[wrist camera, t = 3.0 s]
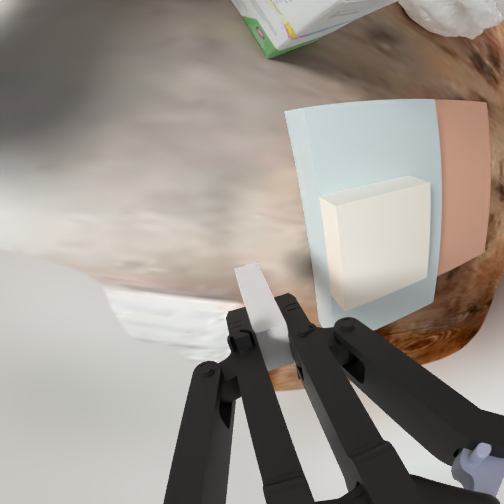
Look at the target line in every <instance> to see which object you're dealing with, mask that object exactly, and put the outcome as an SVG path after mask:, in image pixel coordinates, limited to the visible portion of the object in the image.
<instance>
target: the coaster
mask: <svg viewBox="0 0 504 504" xmlns="http://www.w3.org/2000/svg"><path fill="white" fill-rule="evenodd" d="M319 199H320V206H321V213H322V220H323V227H324V235H325V243H326V251H327V260H328V270H329V279H330V290H331V295H332V296H333V298H334V299H335V300H336V301H337V303H338V304H339V305H340V306H341V308H342V309H343V310H344V311H348V310H350V309H353V308H356V307H358V306H361V305H363V304H366V303H368V302H371V301H373V300H376V299H378V298H381V297H383V296H385V295H388V294H390V293H393V292H395V291H397V290H400V289H402V288H404V287H407V286H409V285H411V284H413V283H416V282H418V281H420V280H422V279H424V278H427V269H428V258H429V243H430V216H431V192H430V182H428V181H425V180H422V179H419V178H416V177H412V176H404V177H400V178H395V179H391V180H386V181H382V182H378V183H373V184H369V185H365V186H360V187H356V188H352V189H348V190H344V191H340V192H336V193H331V194H327V195H323V196H319Z"/></svg>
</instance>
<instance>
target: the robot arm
mask: <svg viewBox="0 0 504 504" xmlns="http://www.w3.org/2000/svg"><path fill="white" fill-rule="evenodd" d="M234 270H235V274H236V277H237V281H238V284H239V288H240V291H241V294H242V298H243V301H244V305H245V307H243V308H240V309H236V310H233V311H229V312H228V314H227V317H226V320H227V325H228V330H229V336H228V339H227V342H228V344H229V347H230V349H231V354H230V355H229V356H228V357H227V358H226V359H225V360H223V361H222V362H220V363H216V362H214V361H206V362H203V363H201V364H199V365H198V366H197V367H196V368H195V370H194V372H193V375H192V379H191V384H190V387H189V392H188V396H187V400H186V404H185V408H184V413H183V417H182V421H181V425H180V430H179V434H178V439H177V443H176V447H175V452H174V456H173V461H172V466H171V470H170V475H169V480H168V484H167V489H166V494H165V499H164V504H225V503H226V494H227V484H228V474H229V464H230V454H231V443H232V433H233V424H234V414H235V403H236V401H235V400H236V399H238V398H240V397H241V396H242V400H243V405H244V409H245V413H246V418H247V422H248V426H249V430H250V434H251V438H252V442H253V446H254V450H255V454H256V457H257V462H258V465H259V469H260V473H261V476H262V481H263V491H264V496H265V500H266V503H267V504H500V502H499V501H498V499H497V498H495V497H496V495H497V492H498V490H499V487H500V485H501V483H502V480H503V477H504V416H503V415H499V414H496V413H492V412H488V411H485V410H481V409H479V408H478V407H477V406H475V405H474V404H473V403H471V402H470V401H469V400H467V399H466V398H464V397H463V396H462V395H460V394H459V393H458V392H456V391H455V390H454V389H452V388H451V387H450V386H448V385H447V384H446V383H444V382H443V381H441V380H440V379H438V378H437V377H436V376H435V375H433V374H432V373H431V372H429V371H428V370H426V369H425V368H424V367H422V366H421V365H420V364H418V363H417V362H415V361H414V360H413V359H411V358H410V357H409V356H407V355H406V354H404V353H403V352H402V351H400V350H399V349H398V348H396V347H395V346H393V345H392V344H391V343H389V342H388V341H387V340H385V339H384V338H382V337H381V336H380V335H378V334H377V333H376V332H374V331H373V330H371V329H370V328H369V327H367V326H366V325H364V324H363V323H362V322H360V321H359V320H358V319H355V318H352V317H344V318H341V319H339V320H338V321H336V322H335V324H334V327H329V328H319V327H316V326H315V325H314V324H312V323H310V321H309V320H308V318H307V316H306V315H305V313H304V311H303V310H302V308H301V306H300V305H299V303H298V301H297V300H296V298H295V297H294V296H293V295H291V294H289V293H287V294H284V295H281V296H277V297H273V295H272V293H271V291H270V289H269V287H268V284H267V282H266V280H265V278H264V276H263V274H262V272H261V270H260V268H259V266H258V264H257V262H255V263H252V264H248V265H245V266H241V267H238V268H234ZM293 358H294V359H293ZM294 361H295V363H296V367H297V373H298V378H299V379H301V380H302V383H303V385H304V387H305V390H306V392H307V394H308V396H309V399H310V401H311V403H312V406H313V408H314V410H315V412H316V414H317V417H318V419H319V421H320V424H321V426H322V428H323V430H324V433H325V435H326V437H327V440H328V442H329V444H330V446H331V449H332V451H333V453H334V455H335V458H336V460H337V462H338V464H339V467H340V468H341V471H342V473H343V476H344V478H345V482H346V486H347V489H348V491H349V492H348V493H347V494H345V495H344V496H343V497H341V498H338V499H333V500H326V501H318V502H315V501H314V499H313V497H312V494H311V491H310V489H309V485H308V483H307V480H306V478H305V475H304V473H303V470H302V468H301V465H300V462H299V459H298V457H297V454H296V451H295V449H294V445H293V443H292V440H291V437H290V434H289V431H288V429H287V426H286V423H285V420H284V417H283V414H282V411H281V409H280V406H279V403H278V400H277V397H276V394H275V391H274V388H273V385H272V382H271V379H270V376H269V373H268V371H270V370H273V369H277V368H280V367H283V366H286V365H289V364H292V363H294ZM346 376H347V377H348V378H349V379H350V380H351V381H352V382H353V383H354V384H355V385H356V386H357V387H358V388H359V389H361V390H362V391H363V392H364V393H365V394H366V395H367V396H368V397H369V398H370V399H371V400H372V401H373V402H374V403H376V404H377V405H378V406H379V407H380V408H381V409H382V410H383V411H384V412H385V413H386V414H388V415H389V416H390V417H391V418H392V419H393V420H394V421H395V422H396V423H397V424H399V425H400V426H401V427H402V428H403V429H404V430H405V431H406V432H407V433H409V434H410V435H411V436H412V437H413V438H414V439H415V440H416V441H418V442H419V443H420V444H421V445H422V446H423V447H424V448H425V449H426V450H428V451H429V452H430V453H431V454H432V455H434V456H435V457H436V458H437V459H439V460H440V461H442V462H444V463H446V464H447V465H450V466H452V470H451V472H452V475H453V478H454V479H455V480H457V481H459V482H460V483H461V484H462V485H463V487H464V489H463V488H459V487H455V486H451V485H447V484H443V483H440V482H436V481H433V480H429V479H426V478H423V477H420V476H416V475H411V474H409V473H408V471H407V469H406V468H405V466H404V464H403V462H402V461H401V459H400V457H399V456H398V454H397V452H396V450H395V449H394V447H393V446H392V444H391V443H390V442H388V441H385V440H383V438H382V437H381V435H380V433H379V432H378V430H377V428H376V427H375V425H374V423H373V421H372V420H371V418H370V416H369V414H368V413H367V411H366V409H365V408H364V406H363V404H362V403H361V401H360V399H359V397H358V396H357V394H356V392H355V391H354V389H353V387H352V385H351V384H350V382H349V380H348V379H347V377H346Z"/></svg>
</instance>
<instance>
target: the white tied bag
mask: <svg viewBox="0 0 504 504" xmlns="http://www.w3.org/2000/svg"><path fill="white" fill-rule="evenodd" d="M398 3H399V4H400V5H401V6H402V7H403V8H404V10H405V11H406V13H407V15H408V16H409V17H410V18H411V19H412V20H413V21H415V22H416V23H418V24H419V25H420V26H422V27H424V28H425V29H426V30H428V31H430V32H432V33H435V34H439V35H441V36H444V37H449V36H451V37H458V36H462V37H467V38H469V39H474V38H475V37H476V36H478V35H480V34H481V33H483V31H484V29H487V28H491V27H494V26H496V25H500V22H502V21H503V15H502V14H501V13H500V12H499V11H498V10H497V8H496V6H497V4H496V3H495V2H494V1H493V0H400V1H398Z"/></svg>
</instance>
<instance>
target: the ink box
mask: <svg viewBox="0 0 504 504" xmlns="http://www.w3.org/2000/svg"><path fill="white" fill-rule="evenodd" d="M231 1H232V3H233V4H234V6H235V7H236V9H237V10H238V11H239V13H240V15H241V16H242V18H243V19H244V21H245V22H246V24H247V26H248V27H249V28H250V30H251V32H252V34H253V35H254V37H255V38H256V40H257V42H258V43H259V45H260V47H261V48H262V50H263V52H264V54H265V56H266V58H273V57H276V56H278V55H281V54H284V53H286V52H289V51H291V50H294V49H297V48H299V47H302V46H305V45H308V44H311V43H313V42H316V41H317V40H319V39H321V38H322V37H324V36H326V35H328V34H330V33H332V32H334V31H336V30H337V29H339V28H341V27H343V26H345V25H347V24H349V23H351V22H353V21H355V20H357V19H359V18H361V17H363V16H365V15H367V14H369V13H371V12H374V11H376V10H378V9H381V8H383V7H385V6H388V5H390V4H392V3H395V2H397V1H400V0H231Z"/></svg>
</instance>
